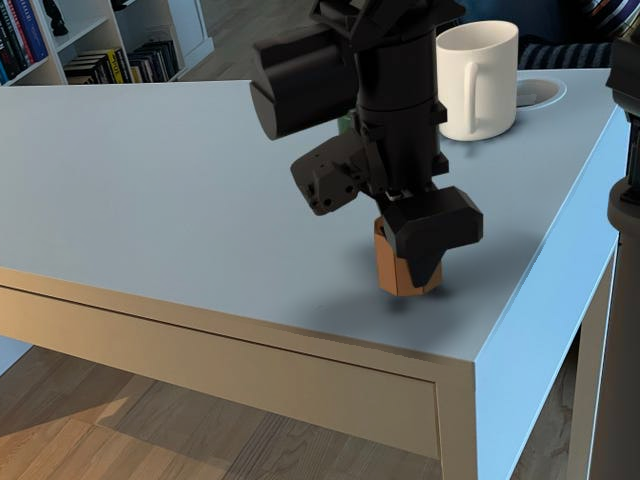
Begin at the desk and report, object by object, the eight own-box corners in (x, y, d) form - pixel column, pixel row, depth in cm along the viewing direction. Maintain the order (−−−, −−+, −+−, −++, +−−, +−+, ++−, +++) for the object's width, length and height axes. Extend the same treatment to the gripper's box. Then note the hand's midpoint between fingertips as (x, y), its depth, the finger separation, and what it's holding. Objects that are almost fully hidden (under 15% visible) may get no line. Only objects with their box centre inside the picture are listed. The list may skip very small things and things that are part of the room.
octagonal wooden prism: (455, 274, 66) (453, 217, 63) (411, 303, 64) (407, 247, 61) (409, 254, 70) (405, 200, 66) (366, 281, 68) (360, 227, 65)
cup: (517, 105, 89) (520, 15, 82) (512, 155, 81) (514, 59, 74) (441, 112, 92) (438, 26, 86) (429, 160, 84) (425, 69, 78)
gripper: (271, 82, 65) (298, 238, 75) (315, 175, 51) (341, 354, 60) (402, 46, 64) (413, 209, 73) (486, 131, 49) (486, 322, 59)
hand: (409, 268), depth 67 cm, fingers closed on octagonal wooden prism, 5 cm apart
